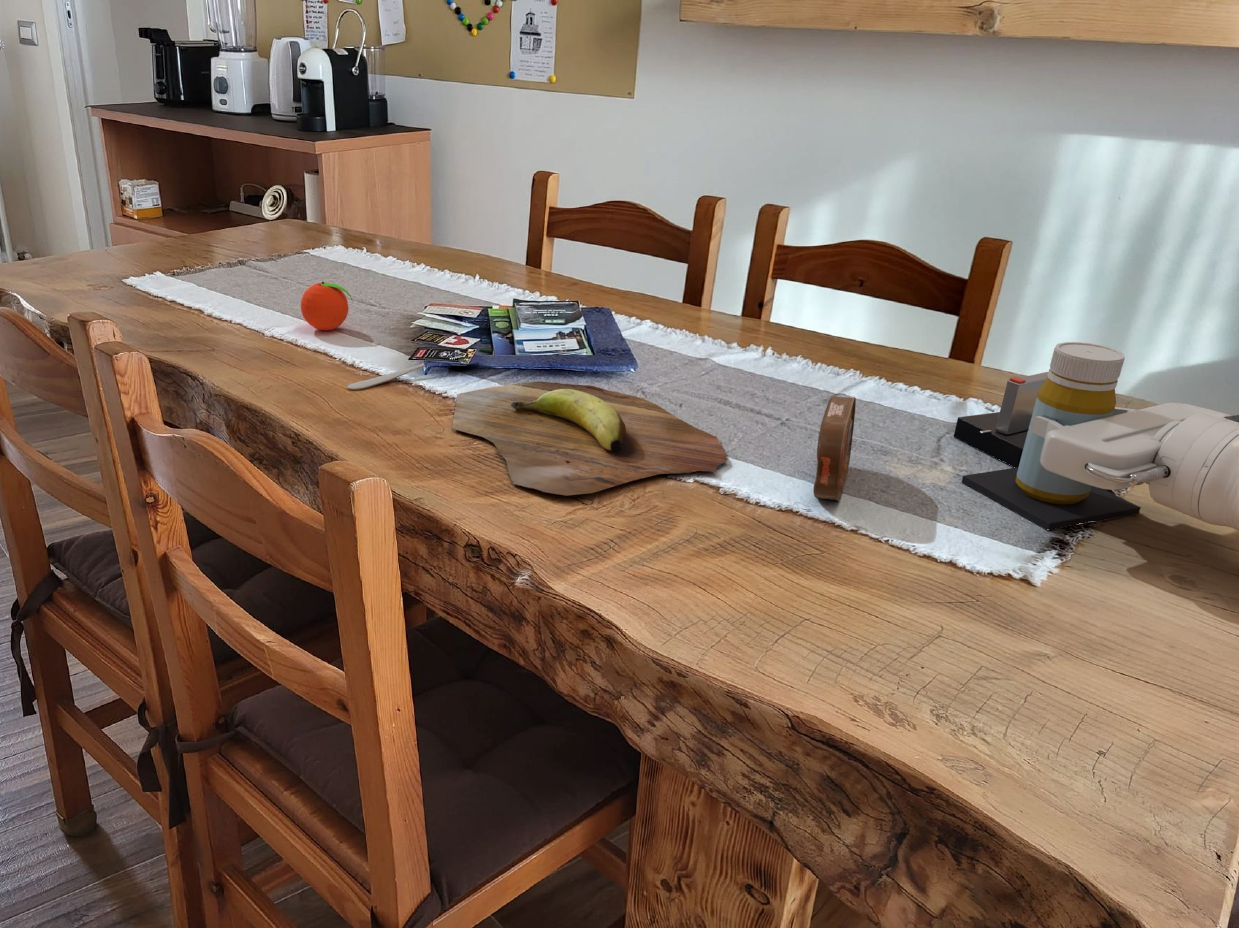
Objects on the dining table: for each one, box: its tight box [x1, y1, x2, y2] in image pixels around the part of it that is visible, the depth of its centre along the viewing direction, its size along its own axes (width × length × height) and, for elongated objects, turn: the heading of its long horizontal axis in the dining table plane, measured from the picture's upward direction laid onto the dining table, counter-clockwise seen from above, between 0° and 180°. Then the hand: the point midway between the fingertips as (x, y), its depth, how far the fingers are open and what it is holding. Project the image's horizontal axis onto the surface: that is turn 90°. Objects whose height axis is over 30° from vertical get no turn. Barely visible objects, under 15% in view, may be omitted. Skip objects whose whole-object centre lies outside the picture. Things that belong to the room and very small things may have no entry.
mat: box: [961, 467, 1142, 531], centre depth 107 cm, size 12×12×1 cm
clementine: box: [300, 281, 354, 332], centre depth 152 cm, size 8×7×7 cm
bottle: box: [1016, 341, 1126, 504], centre depth 103 cm, size 7×7×15 cm
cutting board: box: [452, 381, 729, 497], centre depth 119 cm, size 35×27×4 cm
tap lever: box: [995, 371, 1049, 435], centre depth 117 cm, size 9×2×6 cm, turn 121°
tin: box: [813, 396, 857, 502], centre depth 107 cm, size 15×3×8 cm, turn 160°
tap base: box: [953, 406, 1028, 468], centre depth 119 cm, size 13×13×3 cm
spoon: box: [346, 363, 426, 391], centre depth 136 cm, size 4×21×2 cm, turn 128°
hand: (1062, 416), depth 104 cm, fingers open, 7 cm apart
